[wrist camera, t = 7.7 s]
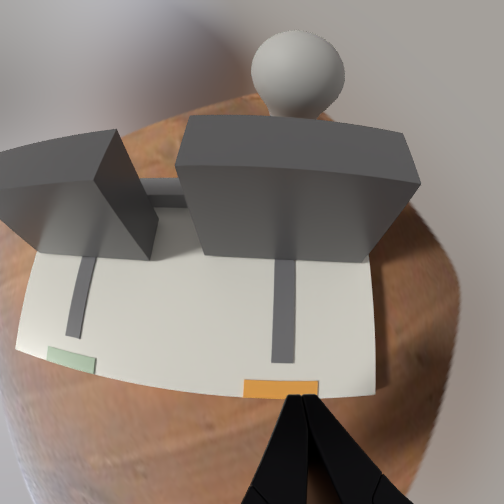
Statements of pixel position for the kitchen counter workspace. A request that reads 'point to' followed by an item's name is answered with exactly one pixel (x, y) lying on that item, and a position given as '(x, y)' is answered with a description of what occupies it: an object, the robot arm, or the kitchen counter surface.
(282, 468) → the robot arm
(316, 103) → the lightbulb
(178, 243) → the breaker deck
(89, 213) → the block
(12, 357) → the kitchen counter surface
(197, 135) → the block
